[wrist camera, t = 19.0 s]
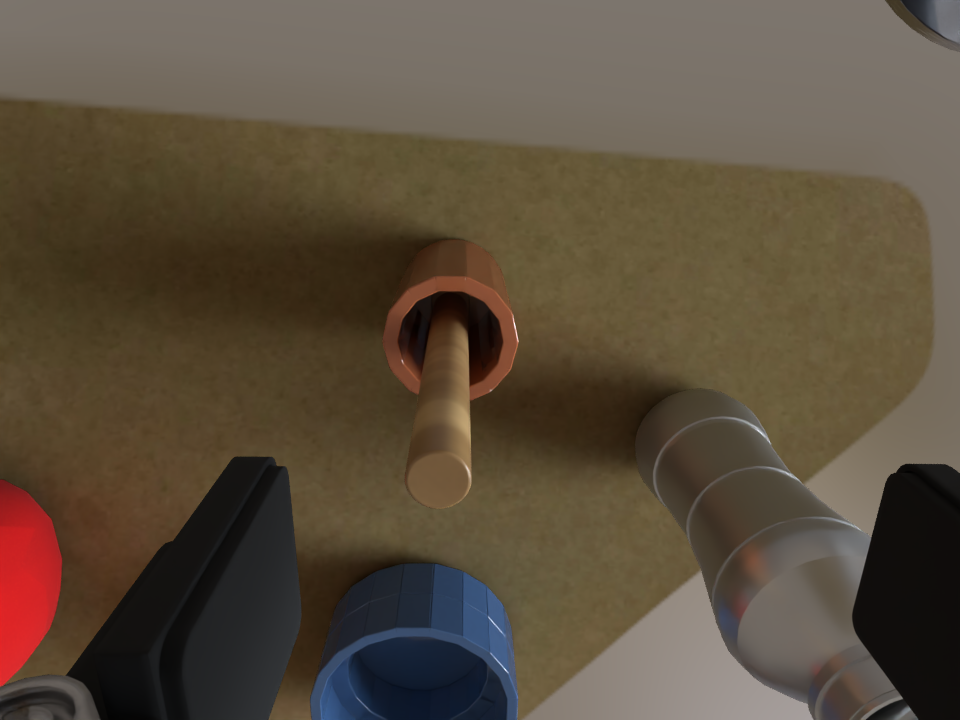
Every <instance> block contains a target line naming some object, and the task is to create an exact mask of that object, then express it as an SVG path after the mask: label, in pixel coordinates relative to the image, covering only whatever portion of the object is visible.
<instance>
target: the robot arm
mask: <svg viewBox="0 0 960 720" xmlns="http://www.w3.org/2000/svg"><path fill="white" fill-rule="evenodd" d="M300 622H301V599H300V589H299V578H298V568H297V557H296V547H295V537H294V526H293V516H292V505H291V495H290V485H289V475H288V471H287V468H286V467H285V466H277V465H276V462H275V459H274V458H273V457H234V458H233V459H232V460H231V461H230V463H229V464H228V465H227V467H226V468H225V470H224V471H223V472H222V474H221V475H220V476H219V478H218V479H217V481H216V482H215V483H214V485H213V486H212V488H211V489H210V490H209V492H208V493H207V495H206V496H205V497H204V499H203V500H202V502H201V503H200V504H199V506H198V507H197V508H196V510H195V511H194V513H193V514H192V515H191V517H190V518H189V520H188V521H187V522H186V524H185V525H184V527H183V528H182V529H181V531H180V532H179V534H178V535H177V536H176V538H175V539H174V540H173V541H171V542H168V543H165V544H164V545H163V546H162V547H161V548H160V549H159V550H158V551H157V553H156V554H155V555H154V557H153V558H152V560H151V561H150V562H149V564H148V565H147V566H146V568H145V569H144V570H143V572H142V573H141V574H140V576H139V577H138V579H137V580H136V581H135V583H134V584H133V585H132V587H131V588H130V589H129V591H128V592H127V593H126V595H125V596H124V598H123V599H122V600H121V602H120V603H119V604H118V606H117V607H116V608H115V610H114V611H113V612H112V614H111V615H110V616H109V618H108V619H107V621H106V622H105V623H104V625H103V626H102V627H101V629H100V630H99V631H98V633H97V634H96V635H95V637H94V638H93V640H92V641H91V642H90V644H89V645H88V646H87V648H86V649H85V650H84V652H83V653H82V654H81V656H80V657H79V658H78V660H77V661H76V663H75V664H74V665H73V667H72V668H71V669H70V671H69V672H68V673H67V675H66V676H61V675H42V676H36V677H29V678H24V679H21V680H18V681H15V682H13V683H10V684H7V685H4V686H1V687H0V720H268V719H269V716H270V713H271V710H272V707H273V705H274V702H275V699H276V696H277V693H278V690H279V687H280V684H281V681H282V679H283V676H284V673H285V670H286V667H287V664H288V661H289V658H290V655H291V653H292V650H293V647H294V644H295V641H296V638H297V635H298V632H299V628H300ZM852 623H853V627H854V630H855V633H856V635H857V636H858V638H859V640H860V641H861V642H862V644H863V645H864V646H865V648H866V649H867V650H868V652H869V653H870V655H871V656H872V657H873V659H874V660H875V661H876V663H877V664H878V665H879V667H880V668H881V669H882V671H883V672H884V673H885V675H886V676H887V678H888V679H889V680H890V682H891V683H892V684H893V686H894V687H895V688H896V690H897V691H898V692H899V694H900V695H901V697H902V698H903V699H904V701H905V702H906V703H907V705H908V706H909V707H910V709H911V710H912V711H913V713H914V714H915V716H916V717H917V718H918V720H960V473H958V472H957V471H956V470H955V469H953V468H952V467H949V466H948V465H945V464H905V465H902V466H901V467H900V468H899V469H898V470H897V472H896V473H893V474H891V475H890V476H889V477H888V479H887V481H886V483H885V487H884V491H883V495H882V499H881V503H880V507H879V511H878V514H877V518H876V522H875V526H874V530H873V534H872V537H871V541H870V545H869V549H868V553H867V557H866V561H865V564H864V568H863V572H862V576H861V580H860V584H859V588H858V592H857V595H856V599H855V603H854V607H853V611H852Z"/></svg>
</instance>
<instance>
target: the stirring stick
mask: <svg viewBox="0 0 960 720" xmlns="http://www.w3.org/2000/svg"><path fill="white" fill-rule="evenodd" d="M469 321H470V295H469V294H467V293H464V292H456V291H438V292H436V293H434V294H432V295H431V323H430V329H429V335H428V341H427V347H426V353H425V359H424V365H423V371H422V377H421V383H420V389H419V395H418V401H417V407H416V412H415V418H414V424H413V430H412V436H411V442H410V448H409V454H408V460H407V466H406V472H405V485H406V488H407V490H408V492H409V494H410V495H411V496H412V498H413V499H414V500H415V501H417V502H418V503H420V504H421V505H423V506H426V507H429V508H434V509H443V508H448V507H451V506H453V505H455V504H457V503H458V502H460V501H461V500H462V499H463V498H464V497H465V496H466V495H467V493H468V491H469V489H470V486H471V481H472V474H471V433H470V391H469V350H468V330H469Z"/></svg>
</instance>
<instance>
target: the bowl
mask: <svg viewBox="0 0 960 720" xmlns="http://www.w3.org/2000/svg"><path fill="white" fill-rule="evenodd" d="M310 708H311V719H312V720H517V710H518V693H517V682H516V672H515V662H514V651H513V641H512V631H511V625H510V623H509V620H508V617H507V614H506V612H505V609H504V606H503V604H502V603H501V602H500V601H499V600H498V599H497V597H496V596H495V595H494V594H493V593H492V592H491V590H490V589H489V588H488V587H487V586H486V585H485V584H483V583H481V582H480V581H478V580H477V579H475V578H473V577H472V576H470V575H468V574H467V573H465V572H462V571H461V570H458V569H454V568H450V567H447V566H443V565H439V564H435V563H434V564H433V563H405V564H400V565H396V566H393V567H389V568H385V569H382V570H378V571H376V572H374V573H372V574H371V575H369V576H368V577H366V578H364V579H363V580H361V581H360V582H358V583H357V584H355V585H353V586H352V587H351V588H350V589H349V591H348V592H347V593H346V594H345V595H344V597H343V598H342V599H341V600H340V602H339V603H338V604H337V605H336V608H335V611H334V614H333V617H332V620H331V623H330V626H329V629H328V633H327V637H326V640H325V644H324V648H323V651H322V655H321V659H320V662H319V666H318V670H317V674H316V677H315V681H314V685H313V688H312V692H311V696H310Z"/></svg>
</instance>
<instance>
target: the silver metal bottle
mask: <svg viewBox="0 0 960 720" xmlns="http://www.w3.org/2000/svg"><path fill="white" fill-rule="evenodd" d="M635 453H636V460H637V465H638V470H639V473H640V476H641V478H642V480H643V482H644V483H645V484H646V485H647V487H648V488H649V489H650V490H651V492H652V493H653V494H654V495H655V497H656V498H657V499H658V500H659V501H660V502H661V503H662V504H663V505H664V506H665V507H666V508H668V510H669V511H670V513H671V514H672V516H673V517H674V518H675V520H676V521H677V523H678V524H679V526H680V527H681V528H682V530H683V531H684V533H685V534H686V536H687V538H688V541H689V543H690V545H691V547H692V550H693V552H694V554H695V557H696V559H697V561H698V564H699V566H700V568H701V571H702V574H703V578H704V581H705V585H706V588H707V592H708V595H709V599H710V602H711V606H712V609H713V613H714V615H715V619H716V623H717V625H718V628H719V630H720V633H721V635H722V638H723V640H724V642H725V645H726V646H727V649H728V651H729V652H730V653H731V654H732V656H733V657H734V658H735V659H736V660H737V661H738V662H739V663H740V664H741V665H742V666H743V667H744V668H745V669H746V670H747V671H748V672H749V673H750V674H751V675H752V676H753V677H754V678H756V679H757V680H758V681H760V682H761V683H762V684H764V685H766V686H768V687H770V688H772V689H774V690H776V691H778V692H780V693H782V694H784V695H787V696H789V697H791V698H793V699H796V700H798V701H801V702H804V703H807V704H808V707H809V711H810V713H811V715H812V717H813V719H814V720H918V718H917V717H916V716H915V714H914V713H913V711H912V710H911V709H910V707H909V706H908V705H907V703H906V702H905V701H904V699H903V698H902V697H901V695H900V694H899V692H898V691H897V690H896V688H895V687H894V686H893V684H892V683H891V682H890V680H889V679H888V678H887V676H886V675H885V673H884V672H883V671H882V669H881V668H880V667H879V665H878V664H877V663H876V661H875V660H874V659H873V657H872V656H871V655H870V653H869V652H868V650H867V649H866V648H865V646H864V645H863V644H862V642H861V641H860V640H859V638H858V636H857V635H856V633H855V630H854V627H853V623H852V611H853V607H854V603H855V599H856V595H857V592H858V588H859V584H860V580H861V576H862V572H863V568H864V564H865V561H866V557H867V553H868V549H869V545H870V541H871V537H870V536H869V535H868V534H867V533H865V532H863V531H862V530H860V529H859V528H858V527H857V526H855V525H854V524H853V523H851V522H850V521H848V520H847V519H846V518H844V517H843V516H841V515H840V514H839V513H837V512H836V511H835V510H833V509H832V508H830V507H829V506H828V505H826V504H825V503H823V502H822V501H821V500H820V499H819V498H818V497H817V496H816V495H814V494H813V493H812V492H811V491H810V490H809V489H808V488H807V487H806V486H805V485H803V484H802V483H801V482H800V481H799V480H798V479H797V478H796V477H795V476H794V475H793V474H792V473H791V472H790V471H789V470H788V468H787V467H786V466H785V464H784V463H783V461H782V460H781V459H780V457H779V456H778V454H777V453H776V452H775V450H774V449H773V448H772V446H771V443H770V441H769V438H768V436H767V434H766V432H765V430H764V428H763V427H762V425H761V424H760V422H759V420H758V419H757V418H756V416H755V415H754V413H753V412H752V411H751V410H750V409H749V408H748V407H746V406H745V405H744V404H742V403H741V402H739V401H737V400H735V399H733V398H731V397H730V396H728V395H726V394H724V393H722V392H718V391H715V390H711V389H689V390H685V391H681V392H678V393H675V394H673V395H671V396H669V397H666V398H665V399H663V400H662V401H661V402H659V403H658V404H656V405H655V406H654V407H653V408H652V409H651V410H650V411H649V412H648V413H647V415H646V416H645V417H644V419H643V420H642V422H641V424H640V426H639V428H638V431H637V435H636V439H635Z"/></svg>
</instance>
